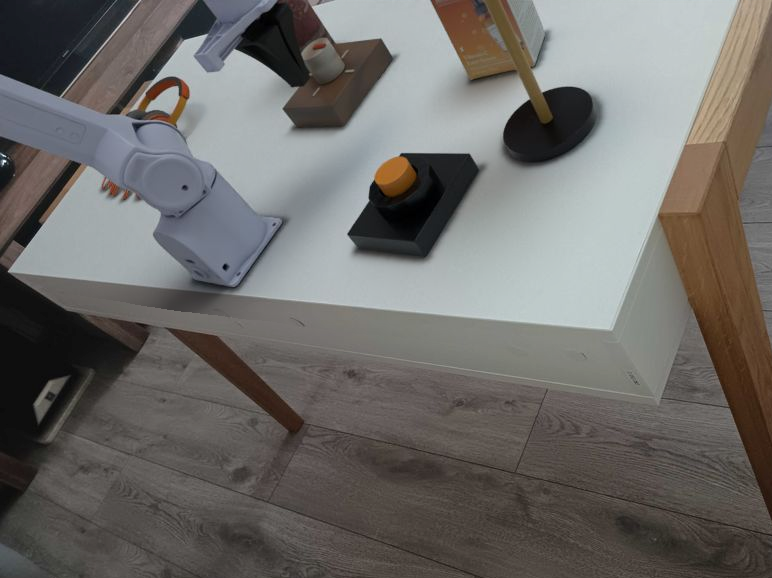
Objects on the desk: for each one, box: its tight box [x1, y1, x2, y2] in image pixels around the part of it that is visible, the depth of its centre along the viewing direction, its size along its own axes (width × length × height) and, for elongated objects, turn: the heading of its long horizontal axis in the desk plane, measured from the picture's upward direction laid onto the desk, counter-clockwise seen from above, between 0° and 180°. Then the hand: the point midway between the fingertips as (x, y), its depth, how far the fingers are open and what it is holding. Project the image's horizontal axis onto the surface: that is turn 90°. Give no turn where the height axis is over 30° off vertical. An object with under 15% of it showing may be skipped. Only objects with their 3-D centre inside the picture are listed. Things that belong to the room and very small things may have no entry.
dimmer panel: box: [282, 37, 394, 128], centre depth 93 cm, size 12×9×3 cm
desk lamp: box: [484, 0, 598, 164], centre depth 63 cm, size 10×10×24 cm
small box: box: [429, 0, 546, 81], centre depth 78 cm, size 8×6×10 cm
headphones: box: [101, 76, 191, 201], centre depth 109 cm, size 17×5×20 cm
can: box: [277, 0, 337, 73], centre depth 98 cm, size 6×6×14 cm
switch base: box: [346, 152, 480, 257], centre depth 72 cm, size 11×9×4 cm
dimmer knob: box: [301, 38, 345, 84], centre depth 91 cm, size 4×4×4 cm
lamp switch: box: [373, 156, 417, 197], centre depth 70 cm, size 4×4×2 cm
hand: (301, 82), depth 77 cm, fingers closed
